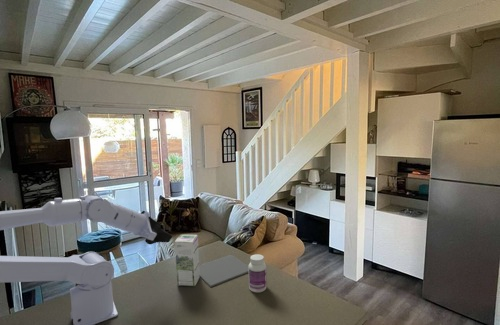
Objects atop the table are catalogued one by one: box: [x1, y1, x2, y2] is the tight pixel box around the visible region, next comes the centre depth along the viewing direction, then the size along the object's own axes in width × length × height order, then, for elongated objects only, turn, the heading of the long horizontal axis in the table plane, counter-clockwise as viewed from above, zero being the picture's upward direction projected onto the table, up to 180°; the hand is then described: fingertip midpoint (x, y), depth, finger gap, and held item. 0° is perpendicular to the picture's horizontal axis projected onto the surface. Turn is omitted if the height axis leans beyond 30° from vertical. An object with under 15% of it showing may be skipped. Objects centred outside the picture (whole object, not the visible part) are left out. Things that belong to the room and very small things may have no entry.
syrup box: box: [174, 234, 201, 287], centre depth 84 cm, size 6×6×14 cm
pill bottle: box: [248, 254, 267, 293], centre depth 80 cm, size 5×5×10 cm
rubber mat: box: [199, 254, 249, 288], centre depth 92 cm, size 16×14×1 cm
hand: (164, 233), depth 84 cm, fingers open, 7 cm apart
